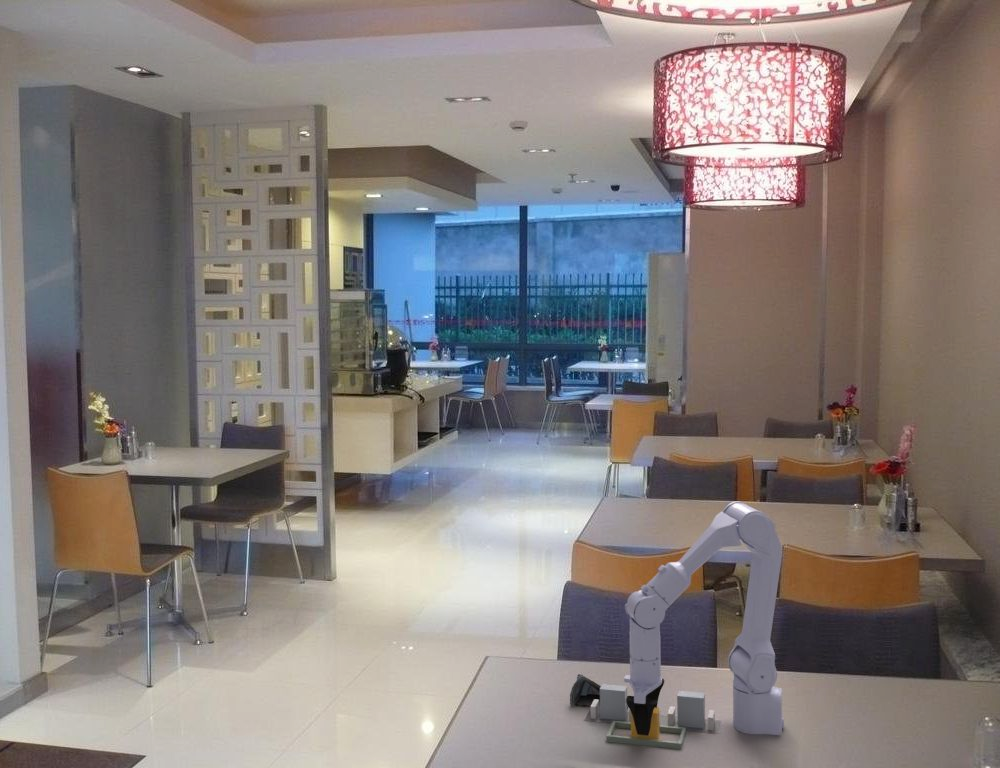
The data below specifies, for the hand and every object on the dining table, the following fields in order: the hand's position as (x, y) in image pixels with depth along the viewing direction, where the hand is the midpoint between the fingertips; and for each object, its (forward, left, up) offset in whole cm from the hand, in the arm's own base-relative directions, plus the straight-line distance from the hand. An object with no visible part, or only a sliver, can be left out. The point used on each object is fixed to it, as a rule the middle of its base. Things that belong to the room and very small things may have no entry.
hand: (646, 725), depth 192 cm
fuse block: (0, -8, -3) cm, 8 cm away
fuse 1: (+8, -8, -2) cm, 11 cm away
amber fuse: (0, 0, -3) cm, 3 cm away
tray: (0, 0, -3) cm, 3 cm away
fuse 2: (-8, -8, -2) cm, 11 cm away
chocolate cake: (+12, -15, -4) cm, 19 cm away
